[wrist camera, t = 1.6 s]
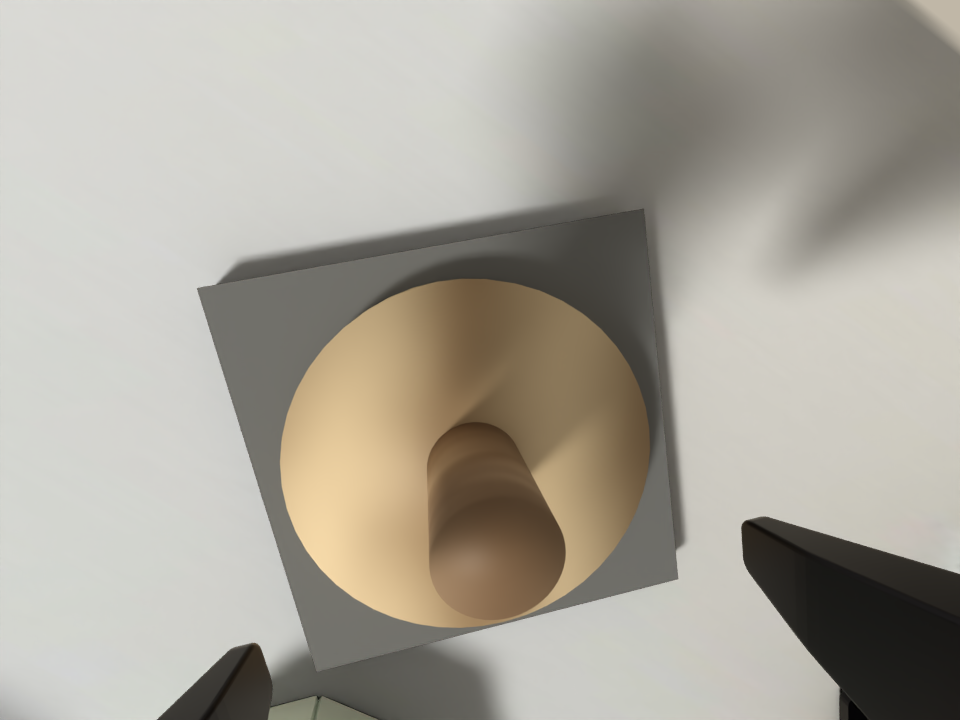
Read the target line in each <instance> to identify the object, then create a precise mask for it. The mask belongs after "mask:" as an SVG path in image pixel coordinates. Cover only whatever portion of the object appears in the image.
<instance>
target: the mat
mask: <svg viewBox="0 0 960 720" xmlns="http://www.w3.org/2000/svg"><path fill="white" fill-rule="evenodd" d="M453 279H489V280H496V281H502V282H509V283H515V284H519V285H522V286H526V287H529V288H533V289H536V290H539V291H542V292H544V293H546V294H549V295H551V296H553V297H555V298H557V299H560V300H562V301H564V302H565V303H567V304H568V305H570V306H572V307H573V308H575V309H576V310H578V311H580V312H581V313H583V314H584V315H585V316H586V317H588V318H589V319H590V320H591V321H592V322H593V323H595V324H596V325H597V326H598V327H599V328H601V329H602V331H603V332H604V333H605V334H606V335H607V336H608V337H609V338H610V340H611V341H612V342H613V343H614V344H615V345H616V346H617V348H618V349H619V351H620V352H621V354H622V355H623V357H624V358H625V360H626V361H627V363H628V364H629V366H630V368H631V370H632V372H633V374H634V376H635V379H636V381H637V383H638V385H639V388H640V391H641V394H642V397H643V400H644V403H645V407H646V412H647V418H648V424H649V437H650V454H649V465H648V473H647V477H646V482H645V486H644V490H643V494H642V497H641V499H640V502H639V505H638V508H637V510H636V513H635V515H634V517H633V519H632V521H631V523H630V525H629V527H628V529H627V531H626V532H625V534H624V535H623V537H622V538H621V540H620V541H619V543H618V544H617V546H616V547H615V549H614V550H613V551H612V553H611V554H610V555H609V556H608V557H607V558H606V560H605V561H604V562H603V563H602V564H601V565H600V567H599V568H598V569H596V570H595V571H594V572H593V573H592V574H591V575H590V576H589V577H588V578H587V579H586V580H585V581H584V582H582V583H581V584H580V585H578V586H577V587H576V588H574V589H573V590H571V591H570V592H569V593H567V594H566V595H565V596H563V597H561V598H559V599H558V600H556V601H554V602H552V603H551V604H549V605H547V606H545V607H543V608H541V609H538V610H536V611H534V612H532V613H529V614H527V615H524V616H521V617H518V618H515V619H512V620H509V621H505V622H501V623H496V624H490V625H485V626H477V627H464V628H451V627H434V626H428V625H421V624H415V623H411V622H408V621H404V620H400V619H397V618H394V617H391V616H389V615H386V614H384V613H381V612H379V611H377V610H374V609H372V608H370V607H369V606H367V605H365V604H363V603H362V602H360V601H358V600H356V599H355V598H353V597H352V596H351V595H349V594H348V593H347V592H345V591H344V590H343V589H341V588H340V587H339V586H337V585H336V584H335V583H334V582H333V581H332V580H331V579H330V578H329V577H328V576H327V575H326V574H325V573H324V572H323V571H322V570H321V569H320V568H319V567H318V565H317V564H316V563H315V561H314V560H313V559H312V557H311V556H310V555H309V553H308V552H307V551H306V549H305V547H304V546H303V544H302V542H301V540H300V538H299V537H298V535H297V533H296V531H295V529H294V526H293V524H292V521H291V519H290V516H289V513H288V511H287V507H286V503H285V498H284V494H283V490H282V483H281V469H280V455H281V441H282V435H283V430H284V426H285V421H286V417H287V413H288V410H289V408H290V405H291V403H292V400H293V397H294V395H295V392H296V390H297V388H298V386H299V384H300V382H301V381H302V379H303V377H304V375H305V373H306V372H307V370H308V368H309V367H310V365H311V364H312V363H313V361H314V360H315V359H316V357H317V356H318V355H319V353H320V352H321V351H322V349H323V348H324V347H325V346H326V345H327V344H328V343H329V342H330V341H331V340H332V339H333V338H334V337H335V336H336V335H337V334H338V333H339V332H340V331H341V330H342V329H343V328H344V327H345V326H347V325H348V324H349V323H351V322H352V321H353V320H355V319H356V318H357V317H359V316H360V315H361V314H362V313H364V312H365V311H366V310H368V309H369V308H371V307H373V306H375V305H377V304H378V303H380V302H382V301H384V300H385V299H387V298H389V297H391V296H393V295H396V294H398V293H401V292H403V291H406V290H408V289H411V288H413V287H417V286H421V285H425V284H429V283H433V282H437V281H445V280H453ZM197 290H198V294H199V297H200V300H201V303H202V306H203V310H204V313H205V316H206V319H207V322H208V326H209V329H210V332H211V335H212V338H213V342H214V345H215V348H216V351H217V354H218V358H219V361H220V364H221V367H222V370H223V374H224V377H225V380H226V383H227V386H228V390H229V393H230V396H231V399H232V402H233V406H234V409H235V412H236V415H237V419H238V422H239V425H240V428H241V431H242V435H243V438H244V441H245V444H246V447H247V451H248V454H249V457H250V460H251V463H252V467H253V470H254V473H255V476H256V479H257V483H258V486H259V489H260V492H261V495H262V499H263V502H264V505H265V508H266V511H267V515H268V518H269V521H270V524H271V527H272V531H273V534H274V537H275V540H276V543H277V547H278V550H279V553H280V556H281V560H282V563H283V566H284V569H285V572H286V576H287V579H288V582H289V585H290V588H291V592H292V595H293V598H294V601H295V604H296V608H297V611H298V614H299V617H300V620H301V624H302V627H303V630H304V633H305V636H306V640H307V643H308V646H309V649H310V652H311V656H312V659H313V662H314V665H315V668H316V672H319V671H323V670H327V669H331V668H335V667H339V666H343V665H347V664H350V663H354V662H358V661H362V660H366V659H370V658H374V657H378V656H381V655H385V654H389V653H393V652H397V651H401V650H405V649H409V648H413V647H416V646H420V645H424V644H428V643H432V642H436V641H440V640H444V639H447V638H451V637H455V636H459V635H463V634H467V633H471V632H475V631H479V630H482V629H486V628H490V627H494V626H498V625H502V624H506V623H510V622H513V621H517V620H521V619H525V618H529V617H533V616H537V615H541V614H545V613H548V612H552V611H556V610H560V609H564V608H568V607H572V606H576V605H579V604H583V603H587V602H591V601H595V600H599V599H603V598H607V597H611V596H614V595H618V594H622V593H626V592H630V591H634V590H638V589H642V588H645V587H649V586H653V585H657V584H661V583H665V582H669V581H673V580H677V579H678V572H677V561H676V550H675V539H674V529H673V518H672V507H671V496H670V486H669V475H668V464H667V453H666V443H665V432H664V421H663V410H662V400H661V389H660V378H659V368H658V357H657V346H656V335H655V325H654V314H653V303H652V292H651V282H650V271H649V260H648V249H647V239H646V228H645V217H644V209H640V210H634V211H628V212H623V213H617V214H611V215H606V216H600V217H595V218H589V219H583V220H578V221H572V222H566V223H561V224H555V225H550V226H544V227H538V228H533V229H527V230H521V231H516V232H510V233H505V234H499V235H493V236H488V237H482V238H476V239H471V240H465V241H460V242H454V243H448V244H443V245H437V246H431V247H426V248H420V249H415V250H409V251H403V252H398V253H392V254H386V255H381V256H375V257H369V258H364V259H358V260H353V261H347V262H341V263H336V264H330V265H324V266H319V267H313V268H308V269H302V270H296V271H291V272H285V273H279V274H274V275H268V276H263V277H257V278H251V279H246V280H240V281H234V282H229V283H223V284H218V285H212V286H206V287H201V288H197Z"/></svg>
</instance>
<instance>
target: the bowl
mask: <svg viewBox="0 0 960 720" xmlns="http://www.w3.org/2000/svg"><path fill="white" fill-rule="evenodd" d="M268 720H378V719H375V718H373V717H371V716H368V715H366V714H364V713H361V712H359V711H356V710H354V709H352V708H349V707H347V706H345V705H342V704H340V703H338V702H335V701H333V700H331V699H328V698H326V697H324V696H322V697H321V698H320V699H319V701H318V698H317V696H313V697H309V698H305V699H301V700H298V701H294V702H290V703H286V704H282V705H279V706H275V707H271V708H270V710H269V716H268Z"/></svg>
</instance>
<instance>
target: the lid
mask: <svg viewBox="0 0 960 720" xmlns="http://www.w3.org/2000/svg"><path fill="white" fill-rule="evenodd" d="M649 454H650V437H649V424H648V418H647V412H646V407H645V403H644V400H643V397H642V394H641V391H640V388H639V385H638V383H637V381H636V379H635V376H634V374H633V372H632V370H631V368H630V366H629V364H628V363H627V361H626V360H625V358H624V357H623V355H622V354H621V352H620V351H619V349H618V348H617V346H616V345H615V344H614V343H613V342H612V341H611V340H610V338H609V337H608V336H607V335H606V334H605V333H604V332H603V331H602V329H601V328H599V327H598V326H597V325H596V324H595V323H593V322H592V321H591V320H590V319H589V318H588V317H586V316H585V315H584V314H583V313H581V312H580V311H578V310H576V309H575V308H573V307H572V306H570V305H568V304H567V303H565V302H564V301H562V300H560V299H557V298H555V297H553V296H551V295H549V294H546V293H544V292H542V291H539V290H536V289H533V288H529V287H526V286H522V285H519V284H515V283H509V282H502V281H496V280H489V279H453V280H445V281H437V282H433V283H429V284H425V285H421V286H417V287H413V288H411V289H408V290H406V291H403V292H401V293H398V294H396V295H393V296H391V297H389V298H387V299H385V300H384V301H382V302H380V303H378V304H377V305H375V306H373V307H371V308H369V309H368V310H366V311H365V312H364V313H362V314H361V315H360V316H359V317H357V318H356V319H355V320H353V321H352V322H351V323H349V324H348V325H347V326H345V327H344V328H343V329H342V330H341V331H340V332H339V333H338V334H337V335H336V336H335V337H334V338H333V339H332V340H331V341H330V342H329V343H328V344H327V345H326V346H325V347H324V348H323V349H322V351H321V352H320V353H319V355H318V356H317V357H316V359H315V360H314V361H313V363H312V364H311V365H310V367H309V368H308V370H307V372H306V373H305V375H304V377H303V379H302V381H301V382H300V384H299V386H298V388H297V390H296V392H295V395H294V397H293V400H292V403H291V405H290V408H289V410H288V413H287V417H286V421H285V426H284V430H283V435H282V441H281V455H280V469H281V483H282V490H283V494H284V498H285V503H286V507H287V511H288V513H289V516H290V519H291V521H292V524H293V526H294V529H295V531H296V533H297V535H298V537H299V538H300V540H301V542H302V544H303V546H304V547H305V549H306V551H307V552H308V553H309V555H310V556H311V557H312V559H313V560H314V561H315V563H316V564H317V565H318V567H319V568H320V569H321V570H322V571H323V572H324V573H325V574H326V575H327V576H328V577H329V578H330V579H331V580H332V581H333V582H334V583H335V584H336V585H337V586H339V587H340V588H341V589H343V590H344V591H345V592H347V593H348V594H349V595H351V596H352V597H353V598H355V599H356V600H358V601H360V602H362V603H363V604H365V605H367V606H369V607H370V608H372V609H374V610H377V611H379V612H381V613H384V614H386V615H389V616H391V617H394V618H397V619H400V620H404V621H408V622H411V623H415V624H421V625H428V626H434V627H451V628H464V627H477V626H485V625H490V624H496V623H501V622H505V621H509V620H512V619H515V618H518V617H521V616H524V615H527V614H529V613H532V612H534V611H536V610H538V609H541V608H543V607H545V606H547V605H549V604H551V603H552V602H554V601H556V600H558V599H559V598H561V597H563V596H565V595H566V594H567V593H569V592H570V591H571V590H573V589H574V588H576V587H577V586H578V585H580V584H581V583H582V582H584V581H585V580H586V579H587V578H588V577H589V576H590V575H591V574H592V573H593V572H594V571H595V570H596V569H598V568H599V567H600V565H601V564H602V563H603V562H604V561H605V560H606V558H607V557H608V556H609V555H610V554H611V553H612V551H613V550H614V549H615V547H616V546H617V544H618V543H619V541H620V540H621V538H622V537H623V535H624V534H625V532H626V531H627V529H628V527H629V525H630V523H631V521H632V519H633V517H634V515H635V513H636V510H637V508H638V505H639V502H640V499H641V497H642V494H643V490H644V486H645V482H646V477H647V473H648V465H649Z"/></svg>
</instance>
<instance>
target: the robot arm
mask: <svg viewBox="0 0 960 720" xmlns="http://www.w3.org/2000/svg"><path fill="white" fill-rule="evenodd" d="M741 531H742V548H743V560H744V564H745V566H746V568H747V570H748V572H749V573H750V575H751V576H752V577H753V579H754V580H755V581H756V583H757V584H758V585H759V587H760V588H761V589H762V591H763V592H764V593H765V595H766V596H767V597H768V599H769V600H770V601H771V603H772V604H773V605H774V607H775V608H776V609H777V611H778V612H779V613H780V615H781V616H782V617H783V619H784V620H785V621H786V623H787V624H788V625H789V627H790V628H791V629H792V631H793V632H794V633H795V635H796V636H797V637H798V639H799V640H800V641H801V642H802V644H803V645H804V646H805V648H806V649H807V650H808V651H809V652H810V654H811V655H812V656H813V657H814V658H815V659H816V661H817V662H818V663H819V664H820V665H821V666H822V667H823V669H824V670H825V671H826V672H827V673H828V674H829V675H830V676H831V678H832V679H833V680H834V681H835V682H836V683H837V684H838V685H839V687H840V688H841V689H842V690H843V691H842V693H841V695H840V720H960V574H958V573H954V572H951V571H948V570H944V569H941V568H938V567H934V566H931V565H927V564H924V563H921V562H917V561H914V560H911V559H907V558H904V557H900V556H897V555H894V554H890V553H887V552H884V551H880V550H877V549H873V548H870V547H867V546H863V545H860V544H857V543H853V542H850V541H847V540H843V539H840V538H836V537H833V536H830V535H826V534H823V533H820V532H816V531H813V530H809V529H806V528H803V527H799V526H796V525H793V524H789V523H786V522H783V521H779V520H776V519H772V518H769V517H758V518H754V519H750V520H746V521H744V522H743V524H742V528H741ZM272 690H273V689H272V680H271V677H270V674H269V671H268V668H267V665H266V662H265V659H264V656H263V653H262V650H261V648H260V646H259V645H258V644H256V643H250V644H246V645H242V646H238V647H234V648H232V649H230V650H229V651H228V652H227V653H226V654H225V655H224V656H223V657H222V658H221V659H220V660H219V661H217V662H216V663H215V664H214V665H213V666H212V667H211V668H210V669H209V670H208V671H207V672H206V673H205V674H204V675H203V676H202V677H201V678H200V679H199V680H198V681H197V682H196V683H195V684H194V685H193V686H191V687H190V688H189V689H188V690H187V691H186V692H185V693H184V694H183V695H182V696H181V697H180V698H179V699H178V700H177V701H176V702H175V703H174V704H173V705H172V706H171V707H170V708H169V709H168V710H167V711H165V712H164V713H163V714H162V715H161V716H160V717H159V718H158V719H157V720H268V716H269V710H270V705H271V699H272Z"/></svg>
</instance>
